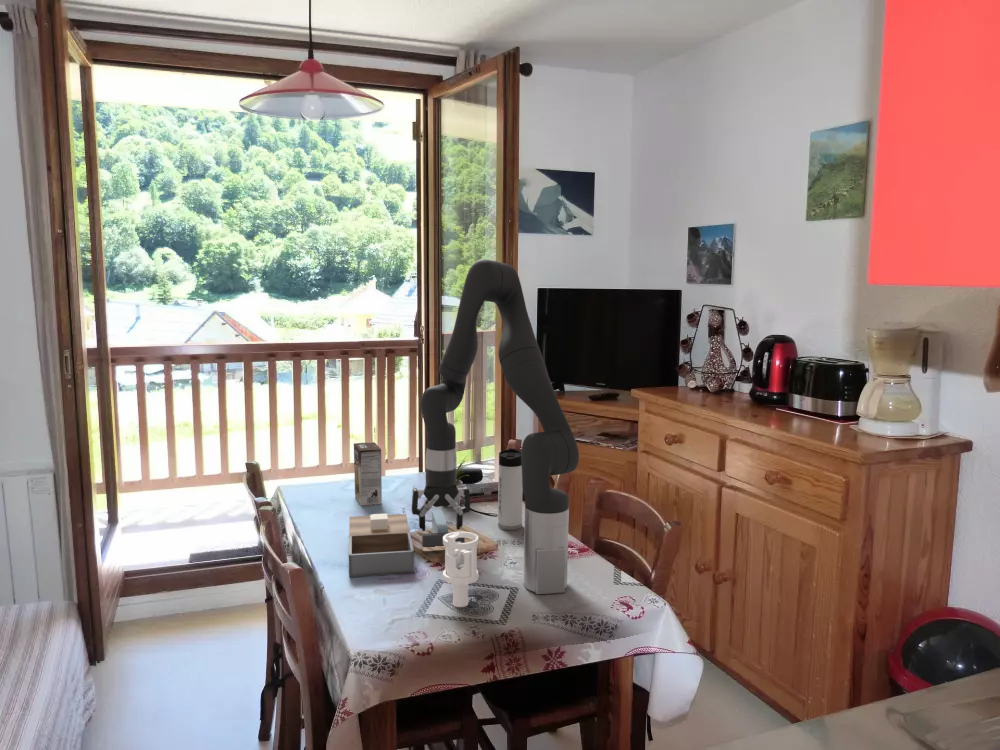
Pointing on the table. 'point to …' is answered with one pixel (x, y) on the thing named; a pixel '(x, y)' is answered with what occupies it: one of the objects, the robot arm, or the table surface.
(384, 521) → the tile
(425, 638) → the table surface
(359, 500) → the coffee box
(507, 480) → the travel mug
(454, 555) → the white slotted cylindrical fitting
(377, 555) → the box
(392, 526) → the wooden box lid
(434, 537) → the scraper
